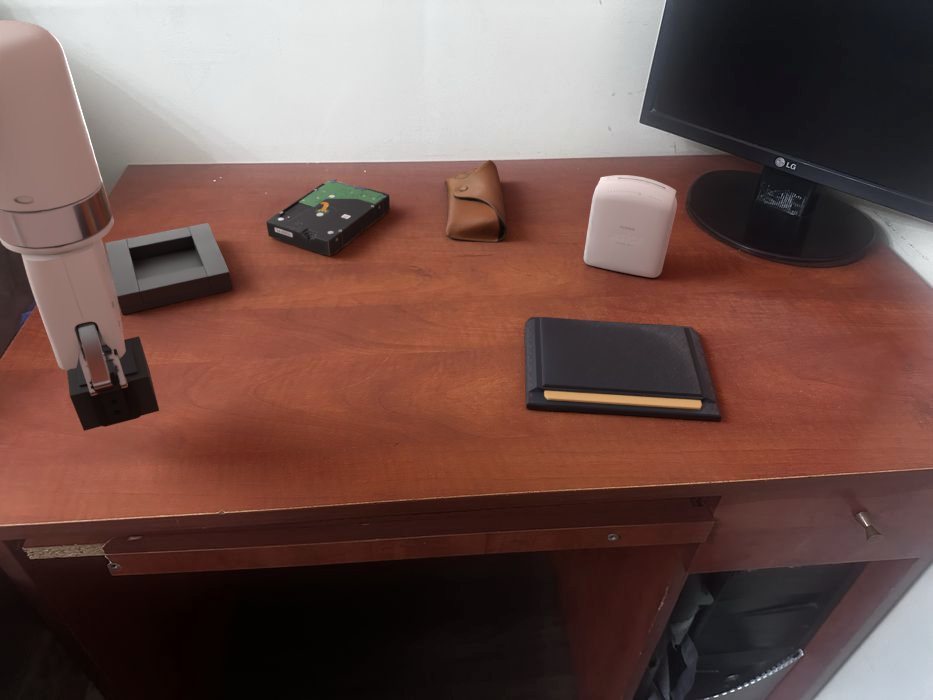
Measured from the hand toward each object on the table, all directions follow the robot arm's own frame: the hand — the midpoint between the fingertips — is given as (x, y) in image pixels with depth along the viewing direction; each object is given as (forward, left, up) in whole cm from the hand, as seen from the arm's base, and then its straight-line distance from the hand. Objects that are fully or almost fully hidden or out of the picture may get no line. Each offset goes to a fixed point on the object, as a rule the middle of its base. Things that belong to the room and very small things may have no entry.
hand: (116, 393), depth 62 cm
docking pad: (+8, +27, -6) cm, 29 cm away
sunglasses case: (+50, +27, -6) cm, 57 cm away
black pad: (0, 0, -1) cm, 1 cm away
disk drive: (+29, +31, -6) cm, 43 cm away
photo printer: (+61, +6, -6) cm, 61 cm away
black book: (+48, -10, -6) cm, 49 cm away
